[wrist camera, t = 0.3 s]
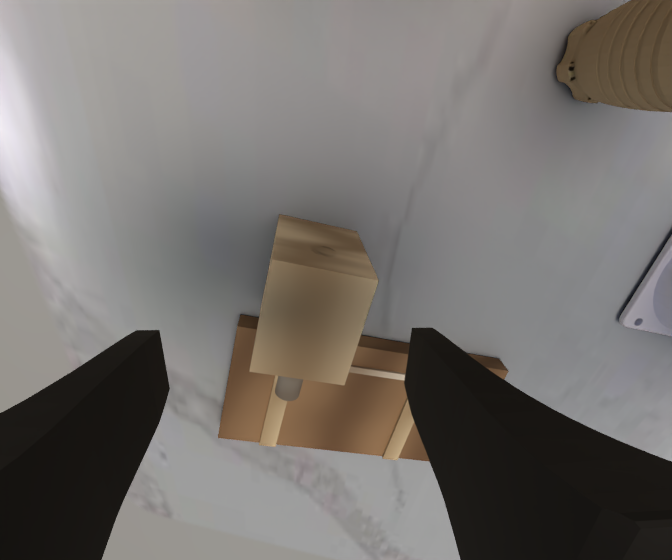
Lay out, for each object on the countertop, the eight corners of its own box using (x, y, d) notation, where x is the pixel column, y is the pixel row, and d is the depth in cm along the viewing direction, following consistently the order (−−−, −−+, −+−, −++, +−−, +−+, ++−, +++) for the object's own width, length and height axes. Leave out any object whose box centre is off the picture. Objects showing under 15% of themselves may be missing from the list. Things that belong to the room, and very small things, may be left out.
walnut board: (499, 358, 24) (510, 373, 23) (452, 449, 27) (459, 467, 26) (240, 314, 21) (236, 328, 20) (221, 422, 24) (217, 440, 23)
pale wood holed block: (356, 231, 20) (378, 280, 14) (322, 350, 23) (330, 428, 17) (279, 214, 19) (271, 259, 14) (254, 339, 22) (240, 417, 16)
